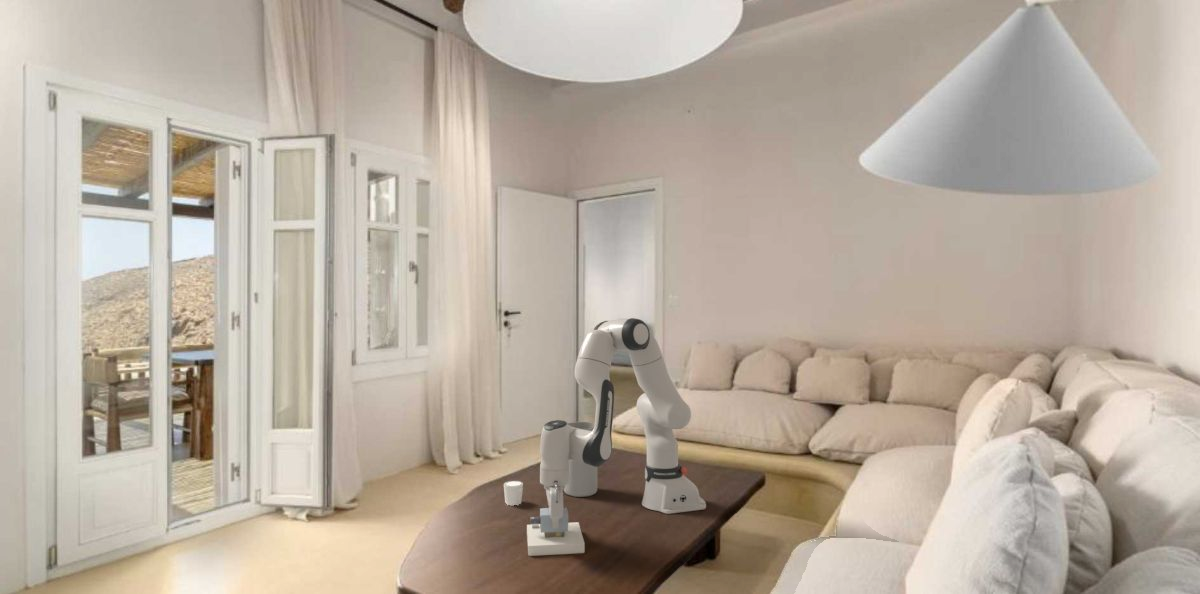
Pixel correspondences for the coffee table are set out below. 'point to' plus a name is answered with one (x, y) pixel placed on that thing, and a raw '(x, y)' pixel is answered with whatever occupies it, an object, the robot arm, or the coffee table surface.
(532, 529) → the socket plate
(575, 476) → the cylinder vase
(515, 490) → the shot glass
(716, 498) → the coffee table surface
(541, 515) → the plug
